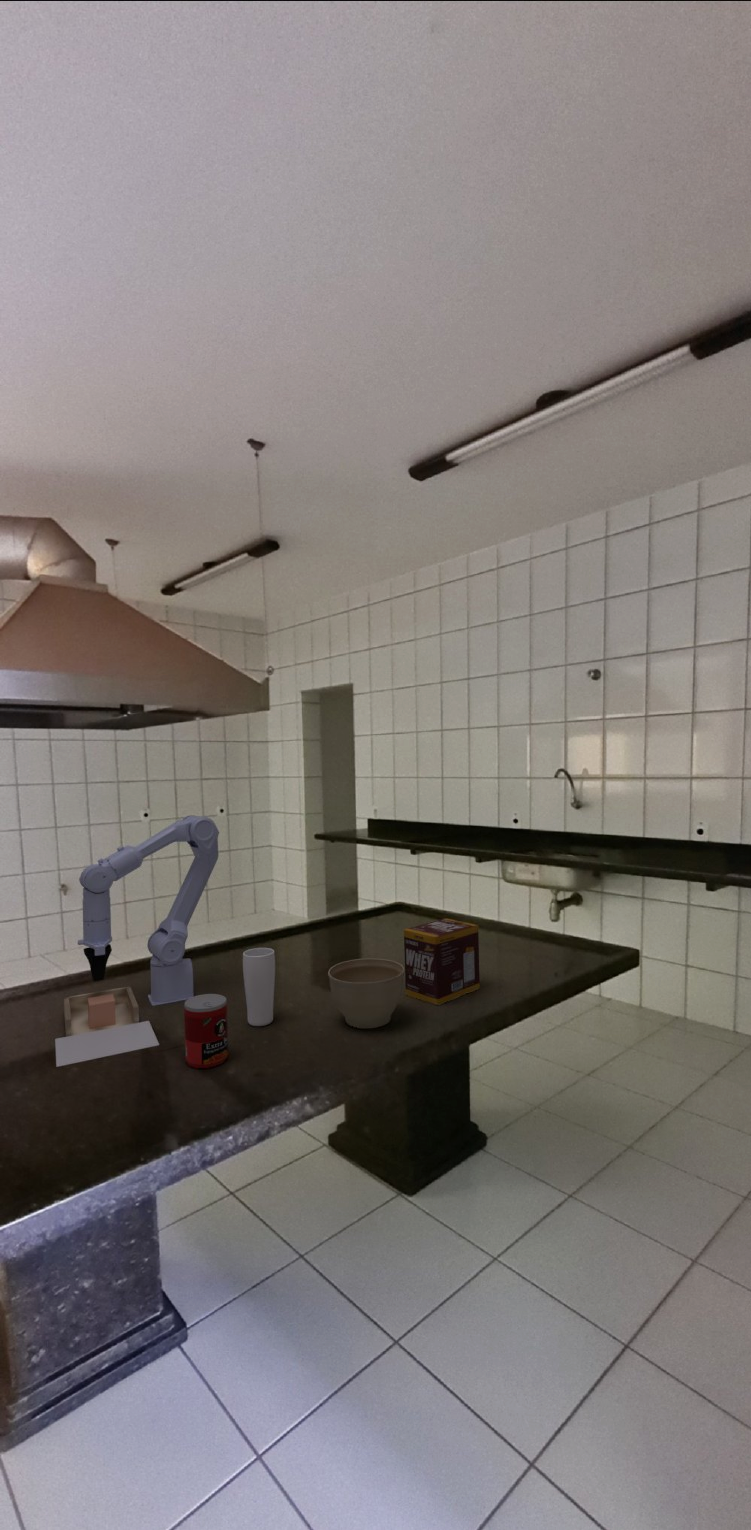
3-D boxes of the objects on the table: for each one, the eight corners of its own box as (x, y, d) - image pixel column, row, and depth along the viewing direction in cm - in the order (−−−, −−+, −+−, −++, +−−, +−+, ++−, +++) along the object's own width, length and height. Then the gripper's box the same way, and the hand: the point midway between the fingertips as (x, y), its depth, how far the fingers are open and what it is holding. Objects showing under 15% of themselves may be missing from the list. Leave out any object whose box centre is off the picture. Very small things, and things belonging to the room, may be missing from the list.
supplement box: (404, 995, 151) (402, 929, 151) (448, 979, 161) (446, 917, 161) (437, 1007, 143) (435, 937, 143) (480, 989, 154) (479, 924, 154)
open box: (130, 1003, 150) (130, 986, 150) (139, 1025, 137) (138, 1006, 137) (64, 1015, 144) (63, 997, 144) (66, 1039, 131) (65, 1020, 131)
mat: (148, 1023, 138) (148, 1020, 138) (159, 1048, 126) (159, 1045, 126) (55, 1042, 130) (55, 1039, 130) (56, 1070, 117) (56, 1067, 117)
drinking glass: (249, 1031, 132) (247, 958, 132) (240, 1020, 138) (238, 950, 139) (281, 1024, 136) (279, 953, 136) (270, 1014, 142) (269, 945, 142)
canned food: (206, 1073, 115) (205, 1011, 115) (176, 1063, 119) (174, 1004, 119) (237, 1056, 121) (235, 998, 121) (207, 1047, 125) (205, 991, 125)
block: (113, 1016, 141) (112, 994, 141) (115, 1024, 136) (115, 1001, 136) (88, 1021, 139) (87, 998, 139) (89, 1029, 134) (89, 1005, 134)
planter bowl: (355, 1002, 147) (353, 954, 147) (418, 1014, 139) (417, 963, 139) (314, 1027, 133) (312, 975, 134) (382, 1042, 125) (380, 986, 125)
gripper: (75, 915, 148) (77, 974, 148) (78, 928, 135) (80, 992, 135) (108, 911, 152) (110, 969, 152) (114, 923, 139) (116, 987, 139)
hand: (98, 980), depth 144 cm, fingers closed
